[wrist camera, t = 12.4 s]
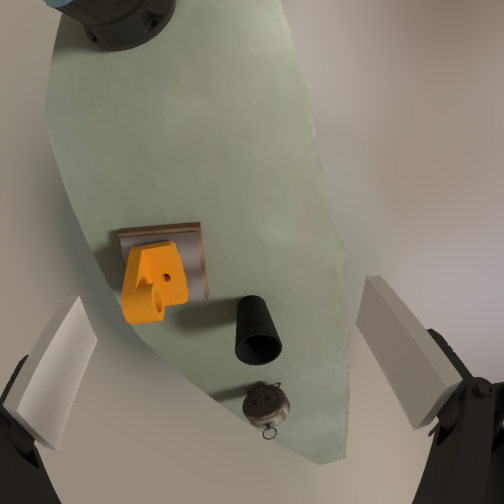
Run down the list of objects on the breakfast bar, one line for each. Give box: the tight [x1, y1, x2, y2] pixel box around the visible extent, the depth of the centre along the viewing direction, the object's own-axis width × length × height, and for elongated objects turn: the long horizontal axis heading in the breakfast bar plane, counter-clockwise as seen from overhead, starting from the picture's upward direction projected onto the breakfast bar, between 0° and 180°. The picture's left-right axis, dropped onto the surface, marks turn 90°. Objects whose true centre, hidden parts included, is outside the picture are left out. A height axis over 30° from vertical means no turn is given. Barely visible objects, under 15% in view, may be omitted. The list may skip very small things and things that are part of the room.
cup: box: [235, 295, 282, 365], centre depth 49 cm, size 8×8×12 cm
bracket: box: [121, 241, 189, 324], centre depth 41 cm, size 11×7×12 cm, turn 7°
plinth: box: [118, 222, 208, 302], centre depth 47 cm, size 14×14×3 cm
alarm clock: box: [243, 381, 290, 440], centre depth 59 cm, size 11×5×16 cm, turn 109°
